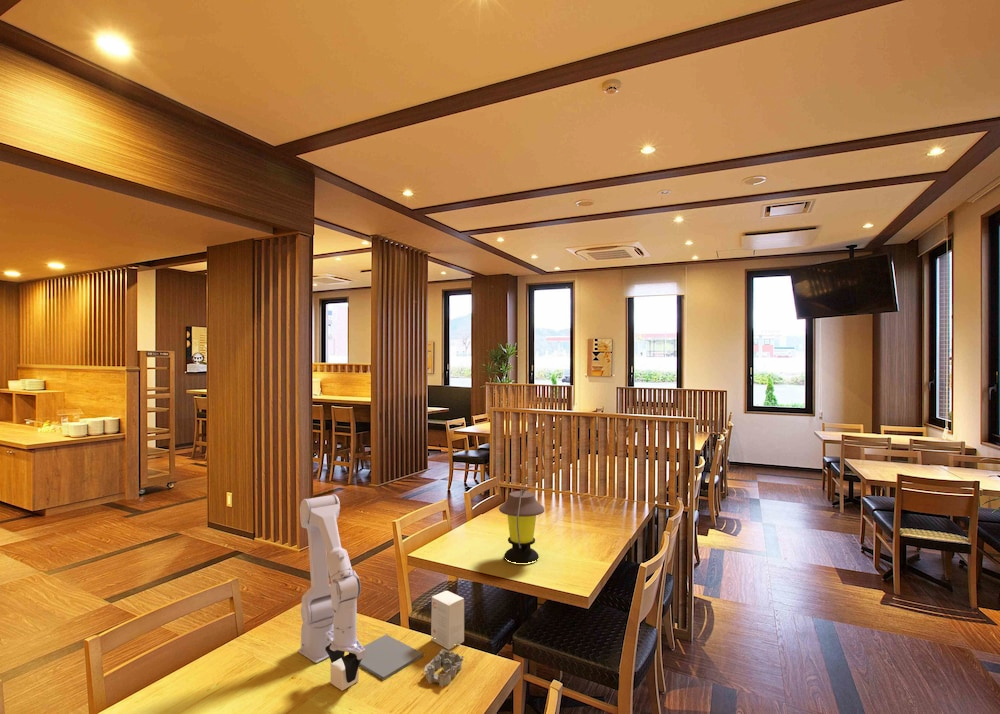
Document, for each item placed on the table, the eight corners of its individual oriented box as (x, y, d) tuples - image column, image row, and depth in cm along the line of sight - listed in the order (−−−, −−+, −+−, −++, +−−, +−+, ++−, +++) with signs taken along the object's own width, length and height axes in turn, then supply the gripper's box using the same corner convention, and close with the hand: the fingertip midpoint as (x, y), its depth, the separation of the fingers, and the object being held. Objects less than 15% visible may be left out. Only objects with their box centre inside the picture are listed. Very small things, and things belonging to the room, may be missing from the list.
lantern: (520, 544, 233) (520, 478, 233) (556, 554, 221) (556, 485, 221) (485, 561, 213) (486, 489, 213) (523, 573, 201) (524, 497, 201)
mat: (346, 658, 143) (346, 655, 143) (386, 636, 154) (386, 634, 154) (383, 680, 134) (383, 677, 134) (423, 656, 145) (423, 653, 145)
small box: (464, 642, 152) (464, 598, 152) (448, 650, 147) (448, 605, 148) (446, 632, 158) (446, 589, 158) (430, 640, 153) (430, 596, 153)
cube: (330, 682, 132) (330, 663, 132) (346, 673, 136) (347, 654, 136) (342, 690, 129) (342, 670, 129) (358, 681, 133) (358, 661, 133)
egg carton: (446, 690, 130) (446, 674, 130) (421, 682, 134) (421, 666, 134) (466, 667, 140) (466, 652, 140) (442, 660, 143) (442, 645, 143)
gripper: (315, 620, 134) (314, 673, 134) (349, 640, 125) (348, 695, 125) (338, 610, 139) (338, 660, 139) (372, 628, 130) (371, 681, 130)
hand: (344, 676), depth 132 cm, fingers closed on cube, 5 cm apart
